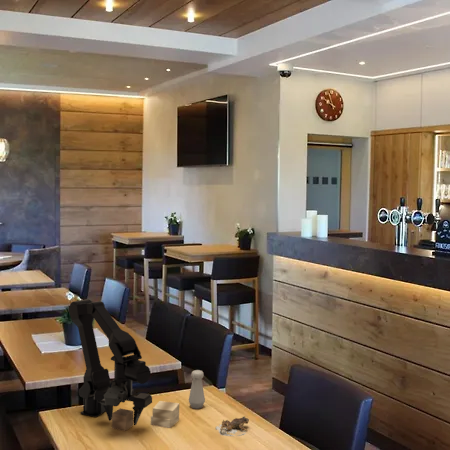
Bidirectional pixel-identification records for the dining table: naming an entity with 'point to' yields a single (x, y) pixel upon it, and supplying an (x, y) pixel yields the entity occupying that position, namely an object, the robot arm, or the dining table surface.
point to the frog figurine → (232, 426)
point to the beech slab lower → (164, 421)
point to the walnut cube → (122, 419)
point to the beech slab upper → (166, 410)
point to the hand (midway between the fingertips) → (122, 422)
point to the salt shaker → (197, 390)
